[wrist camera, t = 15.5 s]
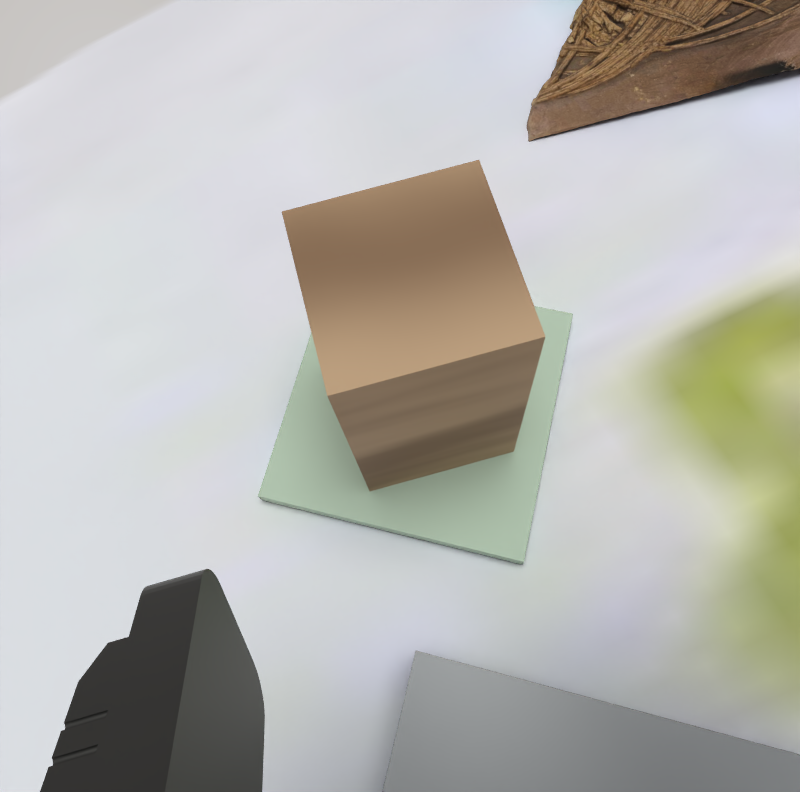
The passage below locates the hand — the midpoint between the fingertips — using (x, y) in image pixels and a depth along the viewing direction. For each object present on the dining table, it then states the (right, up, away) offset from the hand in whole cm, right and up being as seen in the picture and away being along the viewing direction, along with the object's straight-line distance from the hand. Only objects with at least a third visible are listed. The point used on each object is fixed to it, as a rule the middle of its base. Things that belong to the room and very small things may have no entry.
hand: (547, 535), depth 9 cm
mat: (-1, +1, +17) cm, 17 cm away
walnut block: (-1, +1, +17) cm, 17 cm away
